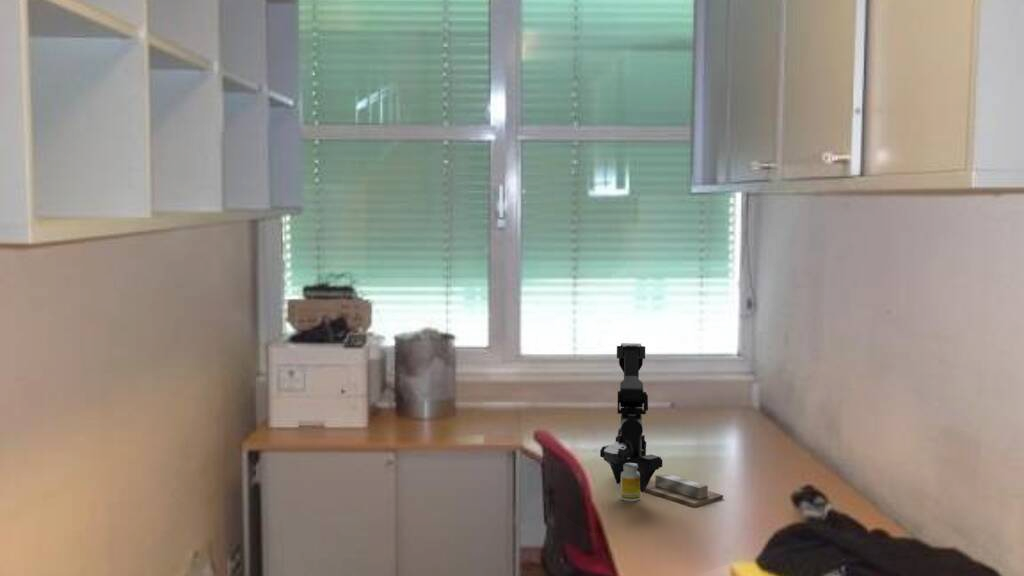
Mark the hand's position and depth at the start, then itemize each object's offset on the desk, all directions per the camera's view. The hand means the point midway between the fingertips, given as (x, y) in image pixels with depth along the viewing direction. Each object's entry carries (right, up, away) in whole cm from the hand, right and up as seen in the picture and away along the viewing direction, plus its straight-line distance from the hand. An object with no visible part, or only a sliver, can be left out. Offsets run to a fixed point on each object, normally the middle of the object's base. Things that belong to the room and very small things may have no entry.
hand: (630, 487), depth 275 cm
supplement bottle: (0, -3, 0) cm, 3 cm away
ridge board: (+15, -3, +4) cm, 15 cm away
